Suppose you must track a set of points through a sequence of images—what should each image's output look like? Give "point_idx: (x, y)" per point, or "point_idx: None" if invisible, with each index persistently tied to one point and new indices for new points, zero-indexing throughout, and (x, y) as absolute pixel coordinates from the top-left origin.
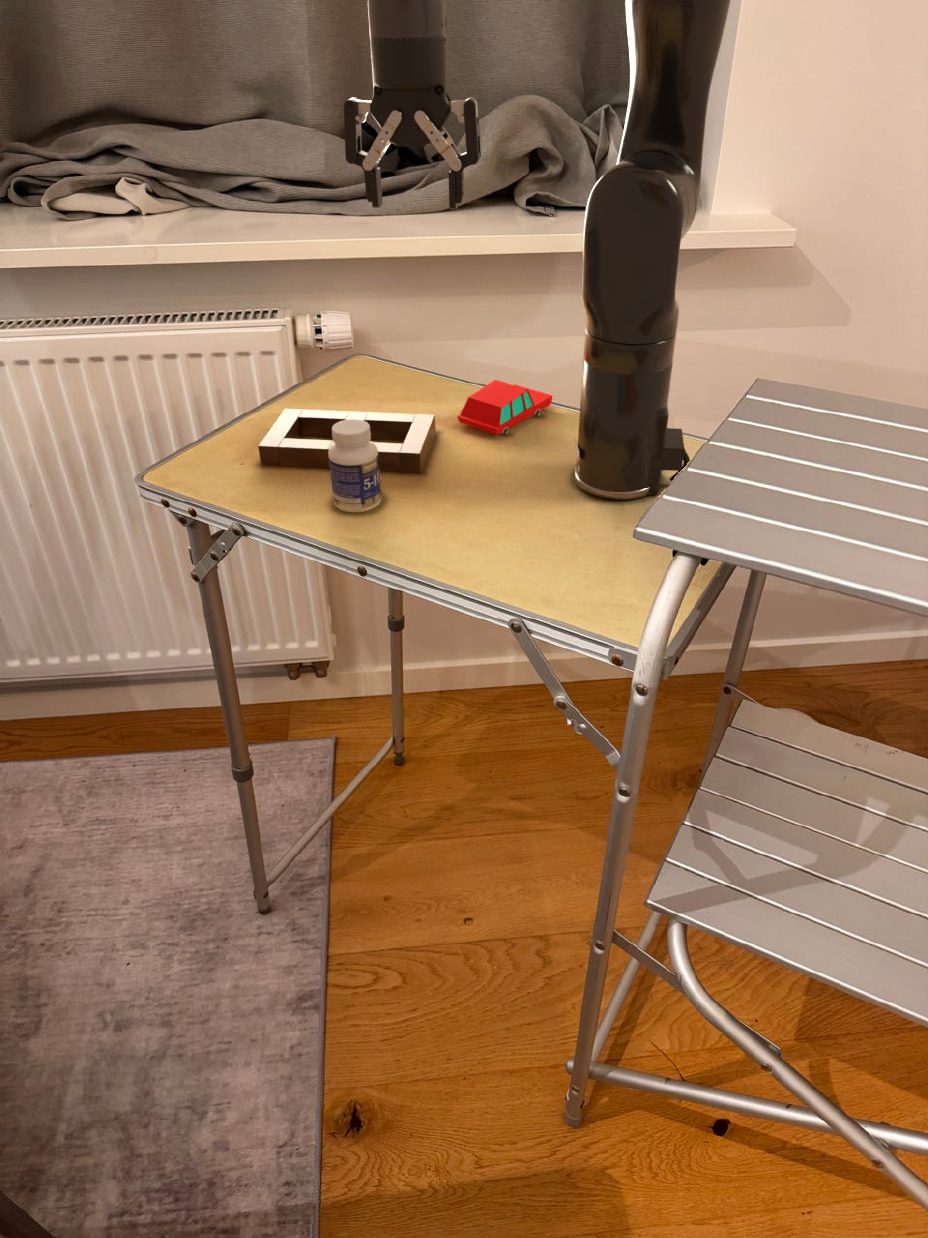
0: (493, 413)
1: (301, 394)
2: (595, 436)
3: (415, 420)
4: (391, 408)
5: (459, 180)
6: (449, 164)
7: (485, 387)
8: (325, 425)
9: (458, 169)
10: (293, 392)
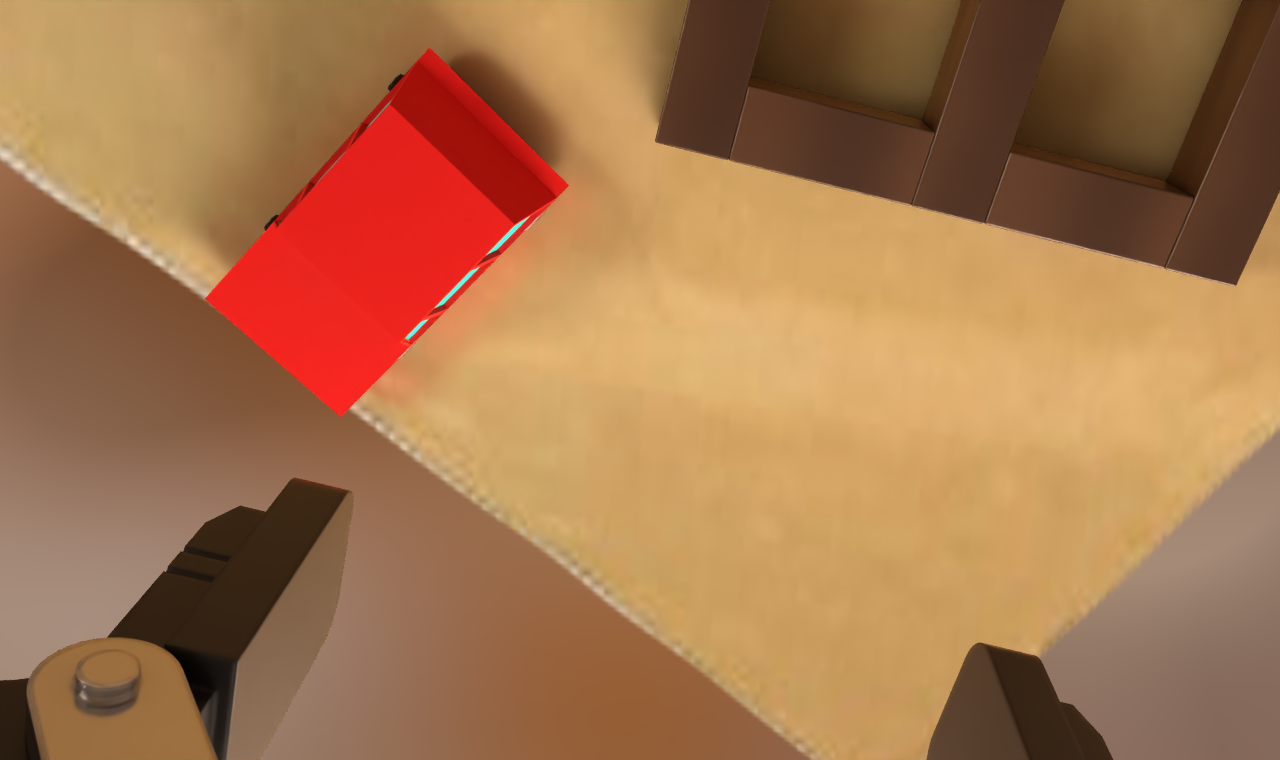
0: (427, 109)
1: (1117, 532)
2: None
3: (735, 98)
4: (802, 367)
5: (158, 612)
6: (186, 704)
7: (441, 288)
8: (1081, 164)
9: (102, 639)
10: (1144, 553)
